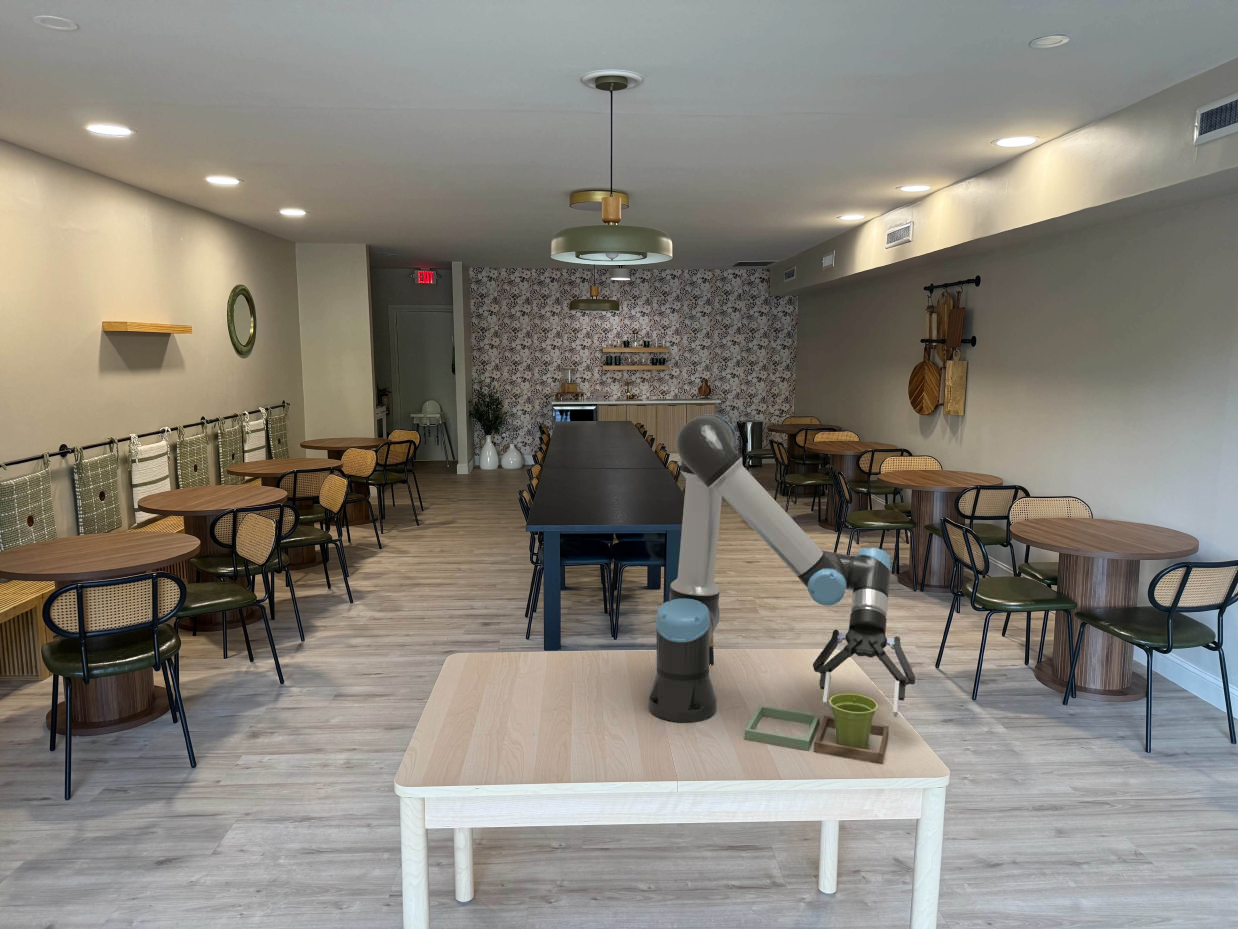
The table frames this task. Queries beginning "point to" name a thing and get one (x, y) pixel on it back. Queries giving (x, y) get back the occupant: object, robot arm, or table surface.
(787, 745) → the sage green collar
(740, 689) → the table surface
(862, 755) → the walnut collar
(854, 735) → the plant pot
